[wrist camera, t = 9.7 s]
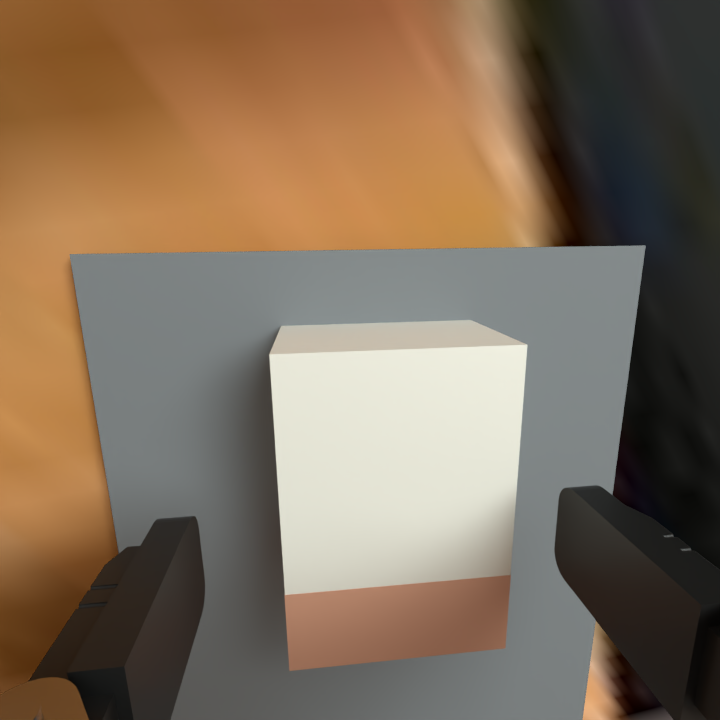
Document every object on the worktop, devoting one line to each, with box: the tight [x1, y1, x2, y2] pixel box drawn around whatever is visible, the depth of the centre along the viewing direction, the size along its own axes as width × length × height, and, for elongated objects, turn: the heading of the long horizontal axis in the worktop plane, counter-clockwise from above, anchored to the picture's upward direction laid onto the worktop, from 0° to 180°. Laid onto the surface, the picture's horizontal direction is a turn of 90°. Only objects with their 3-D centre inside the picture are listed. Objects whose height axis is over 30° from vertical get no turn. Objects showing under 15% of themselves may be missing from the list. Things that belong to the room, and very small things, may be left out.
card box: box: [269, 320, 527, 671], centre depth 12 cm, size 8×6×4 cm
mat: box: [70, 246, 645, 720], centre depth 16 cm, size 24×16×1 cm, turn 1°
